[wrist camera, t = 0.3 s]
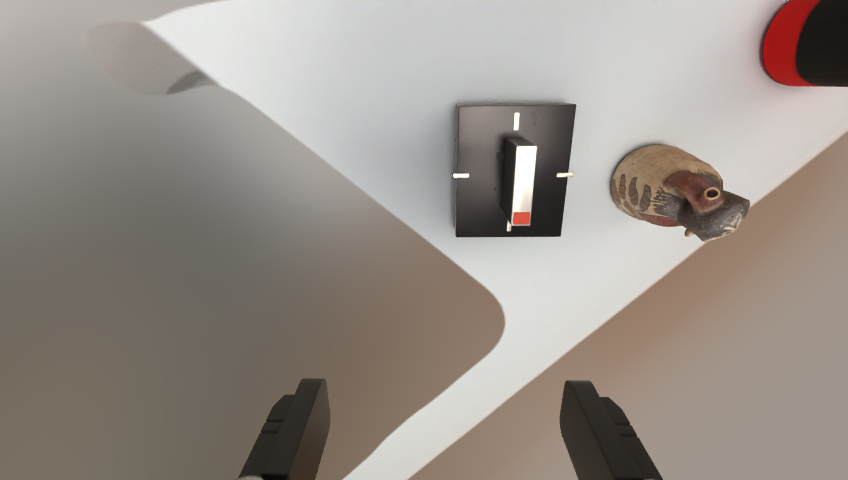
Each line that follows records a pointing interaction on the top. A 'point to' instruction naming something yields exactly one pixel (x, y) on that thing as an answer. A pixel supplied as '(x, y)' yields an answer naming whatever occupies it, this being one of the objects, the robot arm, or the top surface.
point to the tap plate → (485, 159)
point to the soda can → (809, 44)
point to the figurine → (676, 192)
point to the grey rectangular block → (518, 181)
